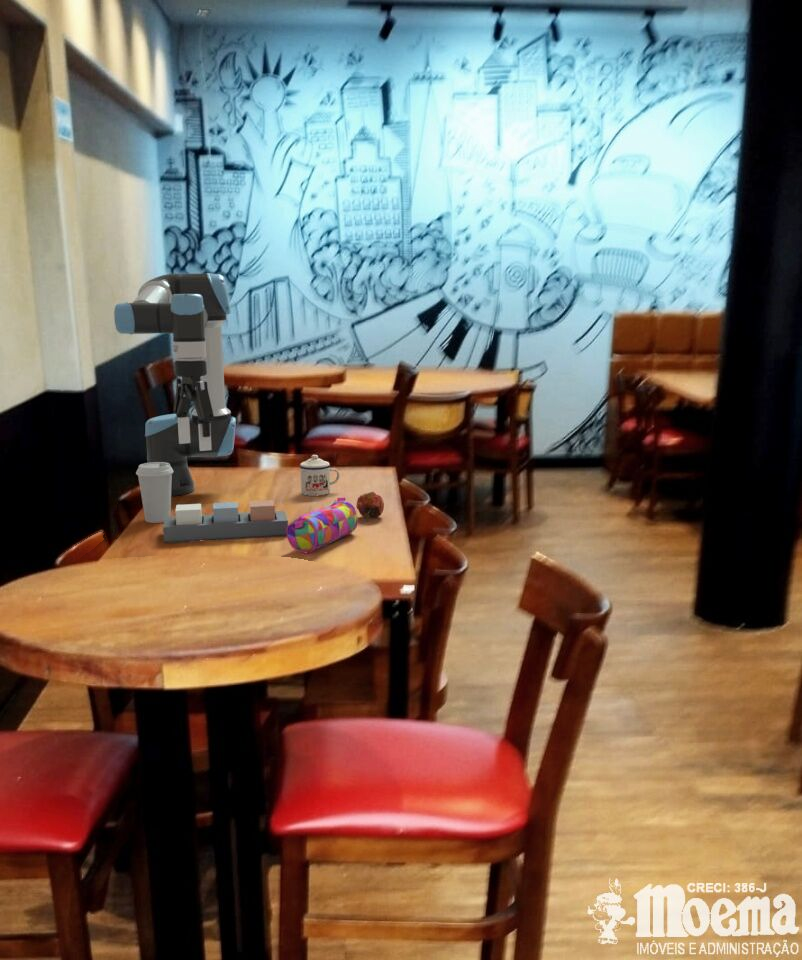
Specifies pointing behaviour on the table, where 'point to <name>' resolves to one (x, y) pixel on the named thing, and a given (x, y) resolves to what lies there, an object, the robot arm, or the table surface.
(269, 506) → the terracotta key
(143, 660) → the table surface
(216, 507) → the slate key
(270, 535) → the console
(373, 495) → the pomegranate
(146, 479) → the coffee cup
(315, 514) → the pencil case
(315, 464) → the teacup with lid
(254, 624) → the table surface
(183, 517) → the ivory key
